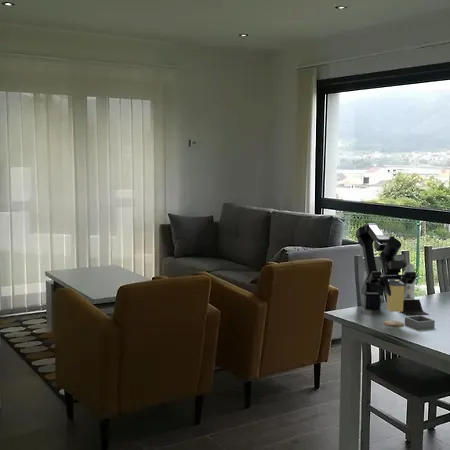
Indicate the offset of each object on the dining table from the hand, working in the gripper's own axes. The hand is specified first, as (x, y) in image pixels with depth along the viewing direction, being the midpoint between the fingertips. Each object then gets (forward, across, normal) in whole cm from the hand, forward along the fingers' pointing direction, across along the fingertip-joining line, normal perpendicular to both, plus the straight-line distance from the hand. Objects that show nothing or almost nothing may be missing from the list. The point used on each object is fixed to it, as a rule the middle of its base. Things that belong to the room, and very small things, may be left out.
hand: (396, 295), depth 244 cm
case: (+7, +9, +11) cm, 16 cm away
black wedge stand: (-4, +15, +23) cm, 28 cm away
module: (+4, 0, +6) cm, 7 cm away
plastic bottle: (-12, +17, +31) cm, 37 cm away
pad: (+8, 0, +10) cm, 13 cm away
